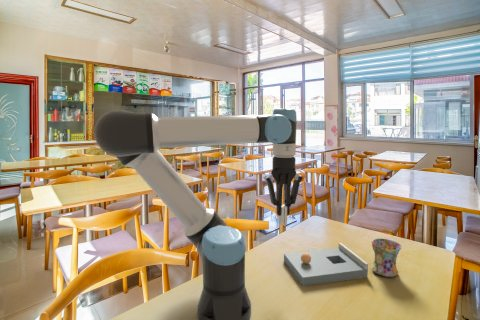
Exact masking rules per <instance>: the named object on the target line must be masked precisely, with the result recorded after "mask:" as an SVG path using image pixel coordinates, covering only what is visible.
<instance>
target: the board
mask: <svg viewBox="0 0 480 320" xmlns="http://www.w3.org/2000/svg"><path fill="white" fill-rule="evenodd" d="M304 253H307V254H309V255H310V256H311V261H310V263H308V264H305V263H303V262H302V261H301V255H302V254H304ZM283 263H285V265H286V266H287V267H288V269H289V271H290V272H291V273H292V274H293V275H294V277H295V278H296V279H297V281H298V282H299V283H300V285H301V286H302V287H305V286H314V285H321V284H322V285H323V284H328V283H333V282H334V283H336V282H343V281H349V280H356V279H357V280H358V279H364V278H368V274H369V263H368V262H367V261H365V260H364V259H363V258H361V257H360V256H359V255H357V253H355V252H353V250H351V249H350V248H349V247H347V246H346V245H344V244H343V243H342V242H339V243H338V247H333V248H325V249H324V248H323V249H316V250H315V249H314V250H306V251H298V252H290V253H289V252H288V253H284V254H283Z"/></svg>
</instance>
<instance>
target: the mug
mask: <svg viewBox="0 0 480 320" xmlns="http://www.w3.org/2000/svg"><path fill="white" fill-rule="evenodd" d="M371 247H372V250H373V252H374V260H373V263H372V265H371V266H370V267H371V270H372V271H373V272H374V273H375V274H378V275H379V276H382V277H387V278H391V277H396V276H397V275H398V273H399V270H398V269H397V258H398V255H399V253H400V251H401V250H402V244H400V243H399V242H397V241H394V240H391V239H389V238H375V239H372V241H371Z"/></svg>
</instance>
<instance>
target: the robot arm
mask: <svg viewBox="0 0 480 320" xmlns="http://www.w3.org/2000/svg"><path fill="white" fill-rule="evenodd" d="M297 121H298V120H297V112H296V109H294V108H274V109H273V110H272V114H244V115H242V114H241V115H203V116H202V115H200V116H198V115H197V116H157V115H155V114H154V113H152V112H151V113H149V112H148V113H146V112H145V113H144V112H142V113H141V112H133V111H130V110H124V109H113V110H110V111H107V112H105V113H104V114H103V115H101V116H100V117H99V119H97V121H96V124H95V126H94V130H93V134H94V139H95V142H96V144H97V145H98V147H99V148H100V149H101V150H102V151H103V152H105V153H106V154H108V155H109V156H113V157H115V158H117V161H119V162H120V163H121V164H122V165H123V166H124V167H128V168H132V169H134V171H135V172H136V174H138V175H139V176H140V177H141V179H143V181H144V182H145V183H146V184H147V186H148V187H149V188H150V190H152V192H154V194H156V197H158V198H159V199H160V200H161V202H162V203H164V205H165V206H166V207H167V209H168V210H170V212H171V213H172V215H174V217H175V218H177V220H178V221H179V222H180V223H181V225H182V226H183V227H184V229H183V234H184V236H185V237H186V238H187V239H188V241H190V242H191V243H192V244H193V246H194V247H195V248H196V250H197V252H198V255H199V257H200V260H201V262H202V263H201V264H202V284H203V285H202V286H203V287H202V290H201V293H200V297H199V300H198V303H197V317H198V318H197V319H198V320H250V318H251V315H252V303H251V299H250V297H249V294H248V291H247V288H246V285H245V284H246V243H245V237H244V235H243V233H242V232H241V230H239V229H237V228H235V227H234V228H233V227H232V226H228V224H227V223H226V222H225V221H224V220H223V218H221V217H220V216H219V214H218V213H217V212H216V211H215V209H213V207H206V206H205V205H204V204H203V202H202V201H201V200H200V198H198V197H197V195H196V194H195V193H194V192H193V191H192V189H191V188H190V187H189V186H188V184H187V183H186V182H185V180H184V179H183V178H182V177H181V175H180V174H178V172H177V171H176V170H175V168H174V167H173V166H172V165H171V163H170V162H169V161H168V160H167V159H166V158H165V156H164V155H163V154H162V153H161V151H160V149H170V148H171V149H172V148H173V149H174V148H187V147H189V148H190V147H205V146H206V147H209V146H222V145H223V146H224V145H238V144H239V145H241V144H243V145H244V144H260V143H261V144H262V143H263V144H264V143H265V144H266V143H271V144H272V155H273V157H272V169H271V172H270V174H269V175H268V176H265V177H263V178H264V180H265V182H266V185H267V188H268V194H269V197H270V198H269V199H270V203H271V204H272V205H273V206H276V215H277V216H278V224H279V225H280V226H281V227H283V226H284V227H285V226H288V216H289V215H290V211H291V210H290V208H291V207H292V205H295V204H296V201H297V197H298V192H299V188H300V183H301V182H302V180H303V176H302V175H300V174H298V173H297V171H296V157H295V155H297V154H296V149H297V143H296V141H297V123H298V122H297ZM293 179H294V180H293ZM273 181H275V183H276V184H275V185H276V192H275V188H274V183H273ZM292 182H293V183H292ZM283 192H284V195H283ZM283 197H284V198H283ZM283 201H284V203H283Z"/></svg>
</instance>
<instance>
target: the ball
mask: <svg viewBox="0 0 480 320" xmlns="http://www.w3.org/2000/svg"><path fill="white" fill-rule="evenodd" d="M301 261H302V262H303V263H305V264H308V263H310V261H311V256H310V255H309V254H307V253H304V254H302V255H301Z"/></svg>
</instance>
